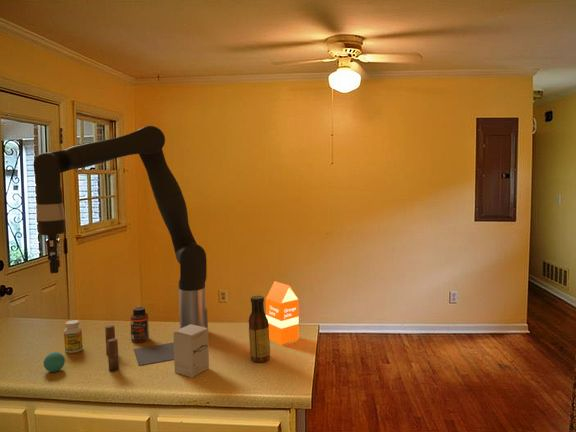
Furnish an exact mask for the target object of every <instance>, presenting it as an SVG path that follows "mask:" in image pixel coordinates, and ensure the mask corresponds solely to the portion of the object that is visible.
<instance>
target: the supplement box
mask: <svg viewBox="0 0 576 432" xmlns="http://www.w3.org/2000/svg"><path fill="white" fill-rule="evenodd" d="M172 333H173V342H174V360H173V361H174V363H173V364H174V366H173V367H174V372H175V373H176V374H180V375H183V376H187V377H188V378H194V377H195V376H197V375H199V374H201V373H202V372H205V371H206V370H208V369H210V359H209V358H210V357H209V356H210V355H209V353H210V352H209V349H210V348H209V327H208V328H205V327H201V326H196V325H192V324H190V325H188V326H185V327H183V328H181V329H180V328H179V329H175V330H174V331H173V332H172Z"/></svg>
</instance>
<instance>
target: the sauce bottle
mask: <svg viewBox="0 0 576 432" xmlns="http://www.w3.org/2000/svg"><path fill="white" fill-rule="evenodd" d="M250 302H251V313H250V315H249V318H248V336H249V354H250V359H251V361H252V362H256V363H264V362H267V361H269V359H270V358H271V355H270V354H271V343H270V340H269V323H268V320H267V317H266V311H265V306H264V303H265V297H264V296H262V295H253V296H251V297H250Z"/></svg>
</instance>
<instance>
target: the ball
mask: <svg viewBox="0 0 576 432" xmlns="http://www.w3.org/2000/svg"><path fill="white" fill-rule="evenodd" d="M65 362H66V360H65V356H64V355H63V354H62V353H60V352H58V351H55V352H51V353H48V354H47V355H46V356H45V357H44V360H43V367H44V369H45V370H46V371H48V372H50V373H56V372H58V371H60V370H61V369H63V367H64V365H65Z"/></svg>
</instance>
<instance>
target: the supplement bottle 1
mask: <svg viewBox="0 0 576 432" xmlns="http://www.w3.org/2000/svg"><path fill="white" fill-rule="evenodd" d="M64 326H65V329H64V330H63V341H64V351H65V352H66V353H68V354H71V353H72V354H74V352H75V353H78V352H80V351H82V350H83V348H84V345H83V331H82V327H81V326H80V321H79V320H77V319H75V320H68V321H66V322H65V325H64Z"/></svg>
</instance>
